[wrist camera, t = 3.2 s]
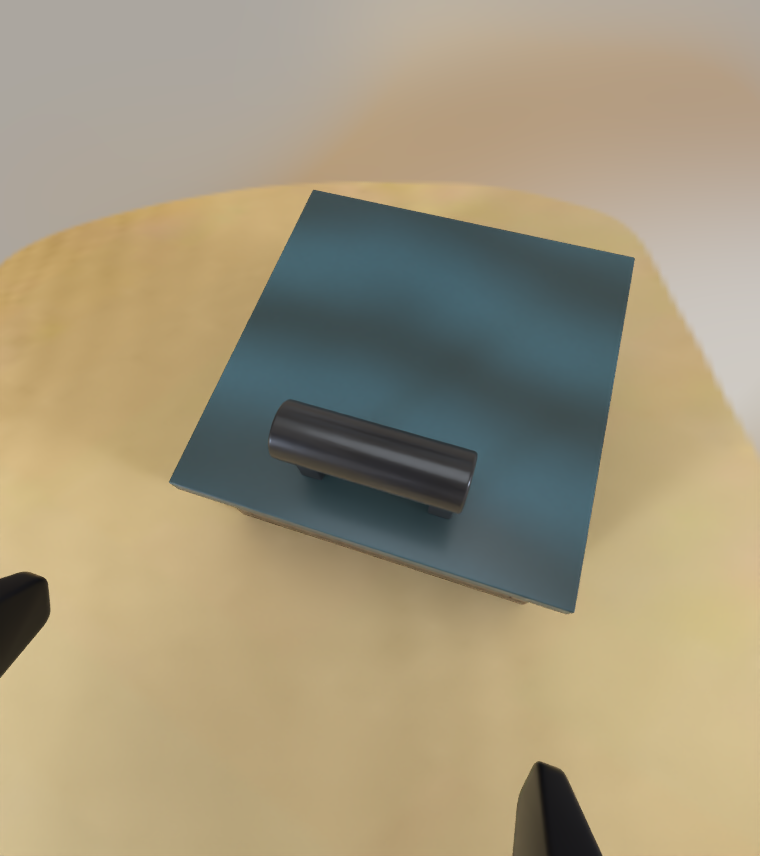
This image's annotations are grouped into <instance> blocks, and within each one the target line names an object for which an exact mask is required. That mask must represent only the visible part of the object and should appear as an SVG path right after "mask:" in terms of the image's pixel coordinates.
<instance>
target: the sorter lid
mask: <svg viewBox="0 0 760 856" xmlns="http://www.w3.org/2000/svg"><path fill="white" fill-rule="evenodd" d="M634 260H635V258H633V257H628V256H624V255H619V254H614V253H609V252H605V251H600V250H595V249H591V248H586V247H581V246H576V245H572V244H567V243H562V242H558V241H553V240H548V239H543V238H539V237H534V236H529V235H525V234H520V233H515V232H510V231H506V230H501V229H496V228H492V227H487V226H482V225H477V224H473V223H468V222H463V221H459V220H454V219H449V218H444V217H440V216H435V215H430V214H426V213H421V212H416V211H411V210H407V209H402V208H397V207H393V206H388V205H383V204H378V203H374V202H369V201H364V200H360V199H355V198H350V197H345V196H341V195H336V194H331V193H327V192H322V191H317V190H313V191H312V193H311V195H310V197H309V199H308V201H307V203H306V205H305V207H304V209H303V212H302V214H301V216H300V218H299V220H298V222H297V224H296V226H295V228H294V230H293V232H292V234H291V236H290V238H289V240H288V242H287V244H286V246H285V248H284V250H283V252H282V254H281V256H280V258H279V260H278V262H277V264H276V266H275V268H274V270H273V272H272V274H271V276H270V278H269V280H268V282H267V284H266V286H265V288H264V290H263V293H262V295H261V297H260V299H259V301H258V303H257V305H256V307H255V309H254V311H253V313H252V315H251V317H250V319H249V321H248V323H247V325H246V327H245V329H244V331H243V333H242V335H241V337H240V339H239V341H238V343H237V345H236V347H235V349H234V351H233V353H232V355H231V357H230V359H229V361H228V363H227V365H226V367H225V369H224V371H223V373H222V376H221V378H220V380H219V382H218V384H217V386H216V388H215V390H214V392H213V394H212V396H211V398H210V400H209V402H208V404H207V406H206V408H205V410H204V412H203V414H202V416H201V418H200V420H199V422H198V424H197V426H196V428H195V430H194V432H193V434H192V436H191V438H190V440H189V442H188V444H187V446H186V448H185V450H184V452H183V454H182V457H181V459H180V461H179V463H178V465H177V467H176V469H175V471H174V473H173V475H172V477H171V479H170V481H169V483H170V484H172V485H173V486H175V487H176V488H178V489H180V490H183V491H186V492H190V493H193V494H196V495H199V496H202V497H205V498H208V499H211V500H214V501H217V502H220V503H224V504H227V505H230V506H233V507H236V508H239V509H242V510H245V511H248V512H251V513H254V514H258V515H261V516H264V517H267V518H270V519H273V520H276V521H279V522H282V523H285V524H288V525H292V526H295V527H298V528H301V529H304V530H307V531H310V532H313V533H316V534H319V535H322V536H326V537H329V538H332V539H335V540H338V541H341V542H344V543H347V544H350V545H353V546H357V547H360V548H363V549H366V550H369V551H372V552H375V553H378V554H381V555H384V556H387V557H391V558H394V559H397V560H400V561H403V562H406V563H409V564H412V565H415V566H418V567H421V568H425V569H428V570H431V571H434V572H437V573H440V574H443V575H446V576H449V577H452V578H455V579H459V580H462V581H465V582H468V583H471V584H474V585H477V586H480V587H483V588H486V589H490V590H493V591H496V592H499V593H502V594H505V595H508V596H511V597H514V598H517V599H520V600H524V601H527V602H530V603H533V604H536V605H539V606H542V607H545V608H548V609H551V610H554V611H558V612H561V613H564V614H570V613H574V611H575V605H576V599H577V594H578V588H579V582H580V576H581V570H582V564H583V559H584V553H585V547H586V541H587V535H588V529H589V523H590V518H591V512H592V506H593V500H594V494H595V488H596V483H597V477H598V471H599V465H600V459H601V453H602V447H603V442H604V436H605V430H606V424H607V418H608V412H609V407H610V401H611V395H612V389H613V383H614V377H615V371H616V366H617V360H618V354H619V348H620V342H621V336H622V331H623V325H624V319H625V313H626V307H627V301H628V295H629V290H630V284H631V278H632V272H633V266H634Z"/></svg>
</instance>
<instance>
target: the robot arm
mask: <svg viewBox="0 0 760 856" xmlns="http://www.w3.org/2000/svg"><path fill="white" fill-rule="evenodd" d="M49 615H50V599H49V589H48V582H47V580H46V579H45V578H44V577H41V576H39V575H36V574H33V573H31V572H20V573H16V574H13V575H10V576H7V577H4V578H1V579H0V678H1V676H2V675H3V674H4V673H5V672H6V670H7V669H8V668H9V667H10V666H11V664H12V663H13V662H14V661H15V660H16V658H17V657H18V656H19V655H20V654H21V652H22V651H23V650H24V649H25V648H26V646H27V645H28V644H29V643H30V642H31V640H32V639H33V638H34V637H35V636H36V634H37V633H38V632H39V631H40V630H41V628H42V627H43V626H44V625H45V623H46V622H47V620H48V618H49ZM513 856H602V854H601V852H600V849H599V847H598V845H597V843H596V841H595V838H594V836H593V834H592V832H591V830H590V827H589V825H588V823H587V821H586V819H585V816H584V814H583V812H582V810H581V808H580V806H579V803H578V801H577V799H576V797H575V795H574V792H573V790H572V788H571V786H570V784H569V781H568V779H567V777H566V775H565V774H564V772H563V771H562V770H561V769H559V768H557V767H554V766H551V765H549V764H546V763H543V762H540V761H538V762H536V763H535V764H534V765H533V767H532V769H531V771H530V773H529V775H528V777H527V779H526V781H525V783H524V785H523V787H522V789H521V791H520V794H519V798H518V803H517V812H516V823H515V834H514V845H513Z"/></svg>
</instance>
